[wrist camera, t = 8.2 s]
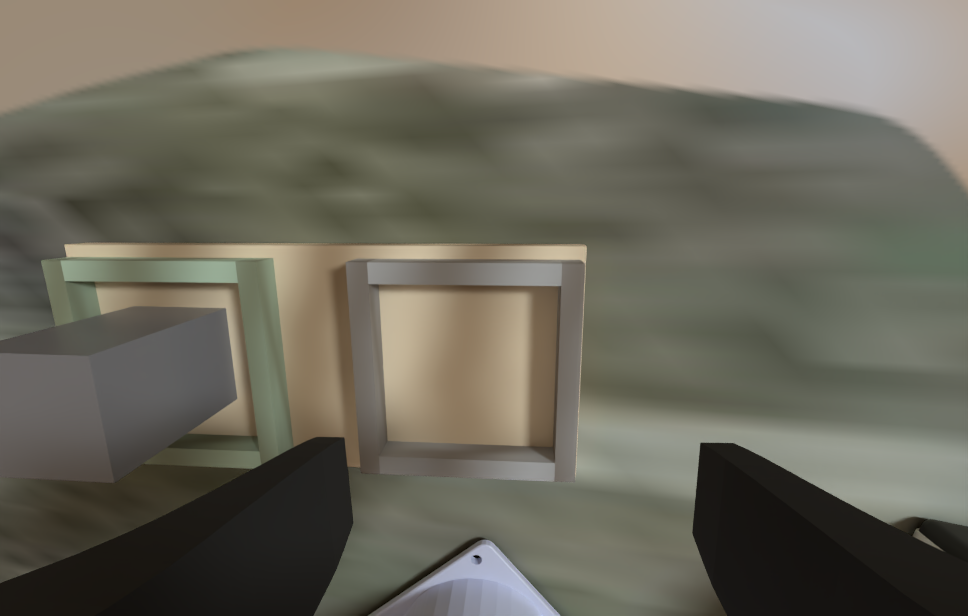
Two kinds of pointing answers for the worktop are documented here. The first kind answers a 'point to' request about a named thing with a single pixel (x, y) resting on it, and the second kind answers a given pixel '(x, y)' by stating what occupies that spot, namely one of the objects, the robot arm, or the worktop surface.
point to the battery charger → (945, 537)
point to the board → (368, 348)
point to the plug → (110, 390)
